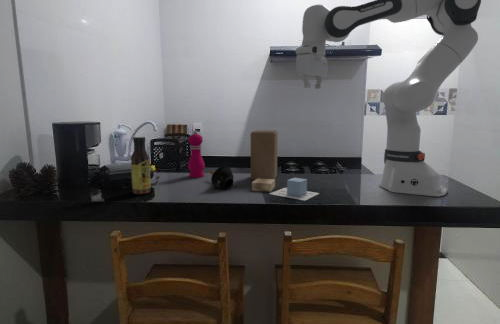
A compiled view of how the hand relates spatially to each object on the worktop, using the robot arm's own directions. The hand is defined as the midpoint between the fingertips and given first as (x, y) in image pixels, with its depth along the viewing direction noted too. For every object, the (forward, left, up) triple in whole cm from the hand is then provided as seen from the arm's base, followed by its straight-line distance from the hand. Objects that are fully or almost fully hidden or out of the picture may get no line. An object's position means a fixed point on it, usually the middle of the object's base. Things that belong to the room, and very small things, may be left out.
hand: (312, 88), depth 132 cm
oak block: (+8, +22, -37) cm, 44 cm away
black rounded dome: (+25, +27, -37) cm, 52 cm away
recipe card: (-5, +22, -37) cm, 43 cm away
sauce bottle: (+40, +52, -37) cm, 75 cm away
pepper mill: (+44, +21, -37) cm, 61 cm away
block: (+18, +7, -37) cm, 42 cm away
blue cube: (-6, +22, -37) cm, 43 cm away
